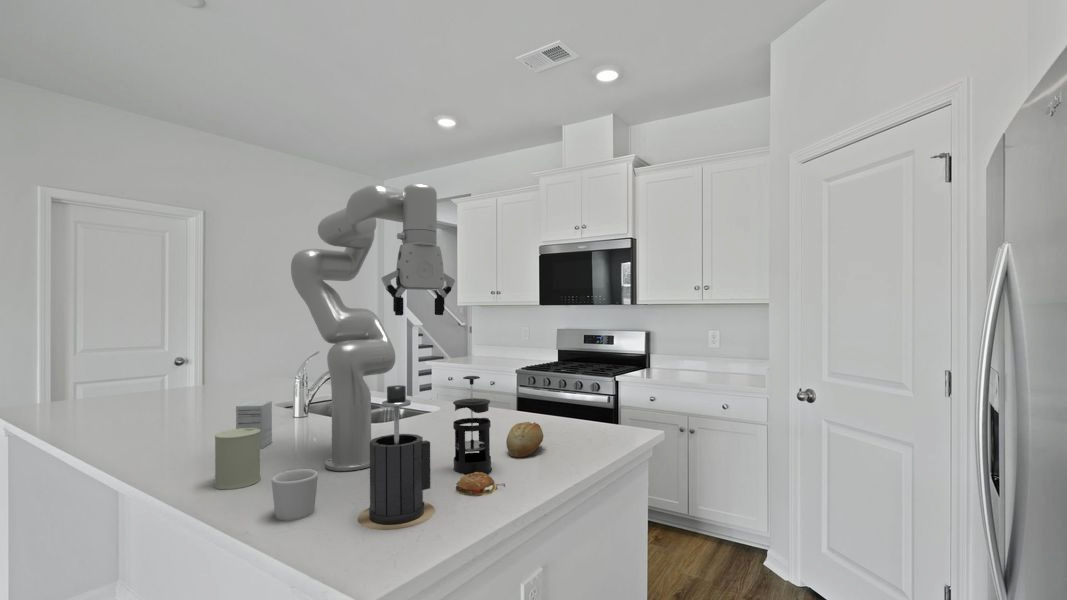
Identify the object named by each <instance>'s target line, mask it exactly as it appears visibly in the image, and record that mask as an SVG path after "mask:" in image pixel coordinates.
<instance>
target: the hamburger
mask: <svg viewBox="0 0 1067 600" xmlns="http://www.w3.org/2000/svg"><path fill="white" fill-rule="evenodd" d="M455 485H456V487H455V490H454V491H455V492H457V493H459V494H460V495H465V496H484V495H489V494H493V493H495V490H496V489H497V488H498V486H499V487H500V486H503V488H506V483H504V482H502V483H500V484H499V483H498V484H496V481H495V480H494V479H493V478H492V477H491V475H490V474H486V473H483V472H475V473H471V474H467V475H464V474H463V476H461V478H459V480H458V481H457V483H456V484H455Z"/></svg>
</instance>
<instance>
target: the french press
mask: <svg viewBox="0 0 1067 600" xmlns="http://www.w3.org/2000/svg"><path fill="white" fill-rule="evenodd" d="M480 378H481V377H480V376H477V375H468V376H467V375H466V376H463V378H462V379H463V380H469V385H470V398H463V399H457V400H453V403H452V404H453V405H454V412H456V411H458V410H461V409H466V408H467V409H469V410H470V411H471V412H470V416H471V417H467V418H461V419H457V420H454V421H453V429H454V439H455V440H454V447H455V448H454V453H455V454H454V455H455V456H454V457H453V471H454V472H456V473H458V474H461V475H463V476H464V475H467V474H471V473H475V472H483V473H486V474H487V475H490V474H491V473H492V472H491V471H493V468H492V456H491V455H490V453H491V452H490V450H491V449H490V448H491V447H490V446H491V445H490V444H491V443H490V429H491V420H490V419H489V417H473V416H474V415H473V414H474V413H476V414H482V413H486V412H488V411H489V407H490V406H489V405H490V403H491V400H489V399H486V398H477V397H476V398H474V397H473V394H474V393H473V385H474V383H475V381H474V380H477V379H478V380H479V379H480ZM466 424H471V425H466ZM474 424H476V425H474ZM477 424H478V425H477ZM466 432H470V433H471V434H470V435H471V439H470V440H466ZM474 432H478V440H474Z"/></svg>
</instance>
